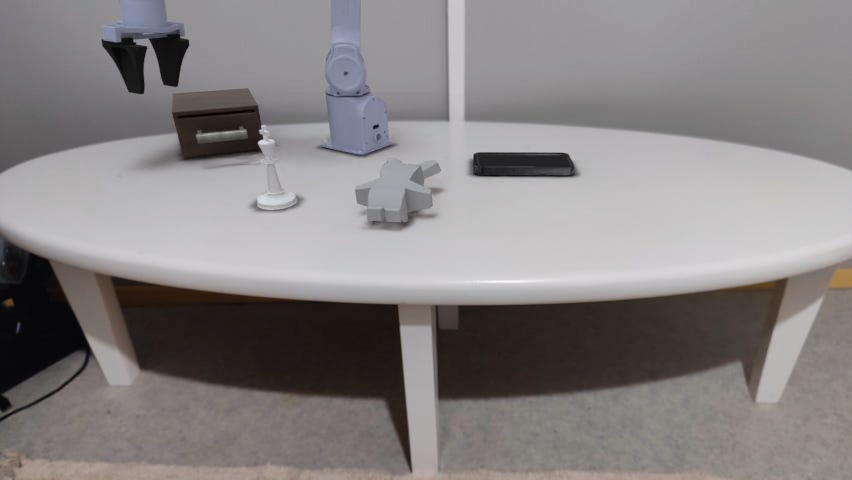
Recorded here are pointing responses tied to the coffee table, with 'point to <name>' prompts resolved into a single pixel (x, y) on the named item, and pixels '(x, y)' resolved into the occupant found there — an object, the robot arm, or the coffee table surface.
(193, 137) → the drawer
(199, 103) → the cabinet
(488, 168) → the phone
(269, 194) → the chess piece
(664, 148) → the coffee table surface
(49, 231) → the coffee table surface
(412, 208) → the grey figure-shaped block
